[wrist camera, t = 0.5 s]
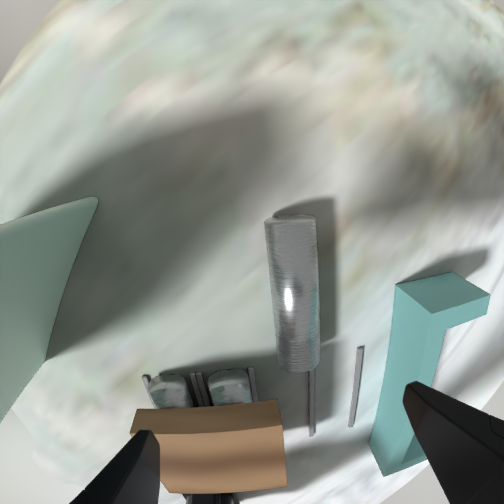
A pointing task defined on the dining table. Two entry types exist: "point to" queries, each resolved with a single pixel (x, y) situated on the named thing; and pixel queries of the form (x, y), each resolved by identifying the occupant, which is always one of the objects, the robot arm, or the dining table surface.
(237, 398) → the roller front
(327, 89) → the dining table surface
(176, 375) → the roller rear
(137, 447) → the robot arm
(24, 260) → the planter
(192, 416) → the slab
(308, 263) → the roller
